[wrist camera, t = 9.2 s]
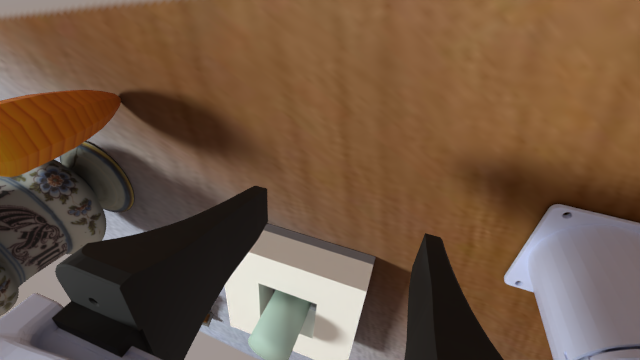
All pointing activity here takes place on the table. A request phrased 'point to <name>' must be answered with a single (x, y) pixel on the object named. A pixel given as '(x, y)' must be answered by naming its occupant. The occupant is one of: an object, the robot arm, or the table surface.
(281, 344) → the peg
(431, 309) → the robot arm
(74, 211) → the apothecary jar
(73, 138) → the carrot
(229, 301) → the socket block
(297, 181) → the table surface
